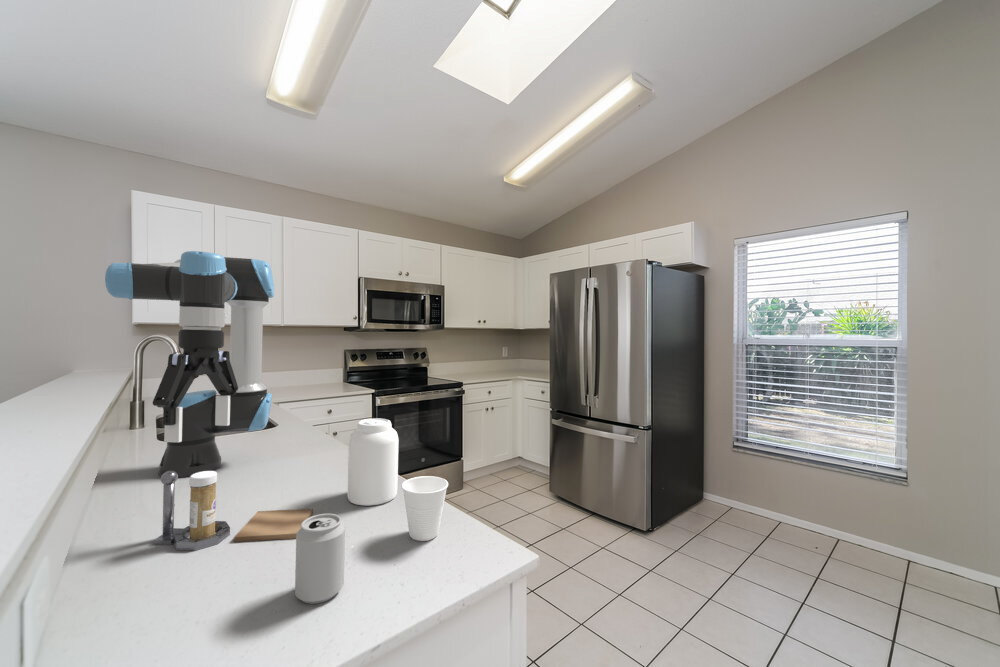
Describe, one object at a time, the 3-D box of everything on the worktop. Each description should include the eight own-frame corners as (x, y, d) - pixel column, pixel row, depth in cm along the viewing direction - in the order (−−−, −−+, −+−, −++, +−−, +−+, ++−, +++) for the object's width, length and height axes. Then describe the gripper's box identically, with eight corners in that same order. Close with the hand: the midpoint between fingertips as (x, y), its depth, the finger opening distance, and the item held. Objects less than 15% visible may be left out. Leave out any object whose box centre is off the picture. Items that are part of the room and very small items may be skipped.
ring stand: (178, 527, 89) (179, 463, 88) (237, 528, 89) (239, 465, 89) (142, 549, 80) (143, 478, 80) (208, 551, 80) (210, 480, 80)
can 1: (305, 578, 72) (306, 510, 72) (349, 577, 72) (350, 510, 72) (286, 607, 64) (288, 531, 64) (335, 606, 65) (337, 531, 65)
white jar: (350, 510, 99) (352, 428, 99) (344, 491, 110) (346, 417, 110) (402, 501, 105) (404, 423, 105) (391, 484, 116) (393, 414, 116)
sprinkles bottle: (215, 540, 84) (216, 475, 83) (187, 547, 81) (188, 479, 81) (216, 531, 87) (217, 468, 87) (189, 536, 85) (190, 472, 85)
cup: (454, 528, 91) (456, 479, 91) (433, 550, 82) (434, 496, 82) (415, 520, 95) (416, 473, 95) (390, 541, 85) (392, 488, 85)
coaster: (257, 515, 95) (257, 511, 95) (312, 512, 97) (312, 508, 97) (234, 542, 83) (234, 537, 83) (297, 538, 85) (297, 533, 85)
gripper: (224, 328, 96) (222, 419, 96) (127, 327, 71) (125, 449, 71) (256, 329, 96) (254, 420, 96) (171, 328, 71) (168, 451, 71)
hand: (199, 433), depth 84 cm, fingers open, 13 cm apart
